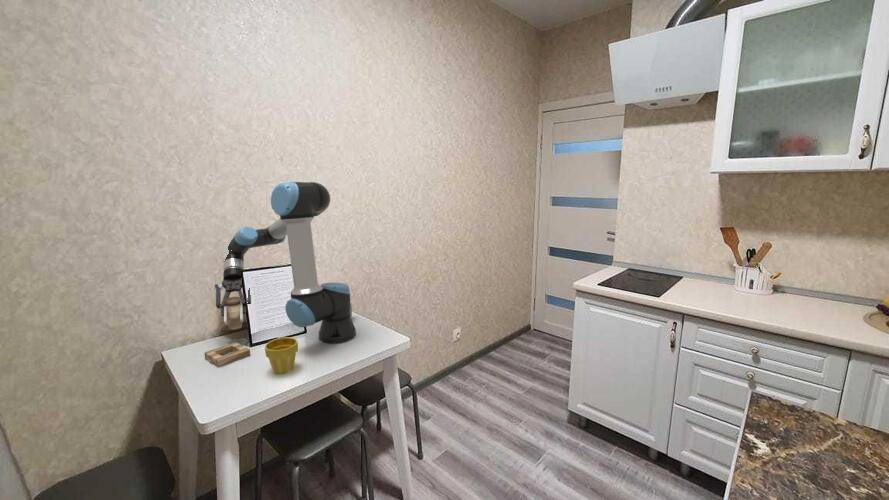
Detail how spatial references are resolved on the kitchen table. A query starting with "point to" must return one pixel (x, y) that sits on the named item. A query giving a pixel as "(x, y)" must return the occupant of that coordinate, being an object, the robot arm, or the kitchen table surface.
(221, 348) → the pocket block
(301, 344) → the kitchen table surface
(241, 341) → the coaster
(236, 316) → the mill
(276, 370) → the plant pot
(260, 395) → the kitchen table surface
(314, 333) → the kitchen table surface
